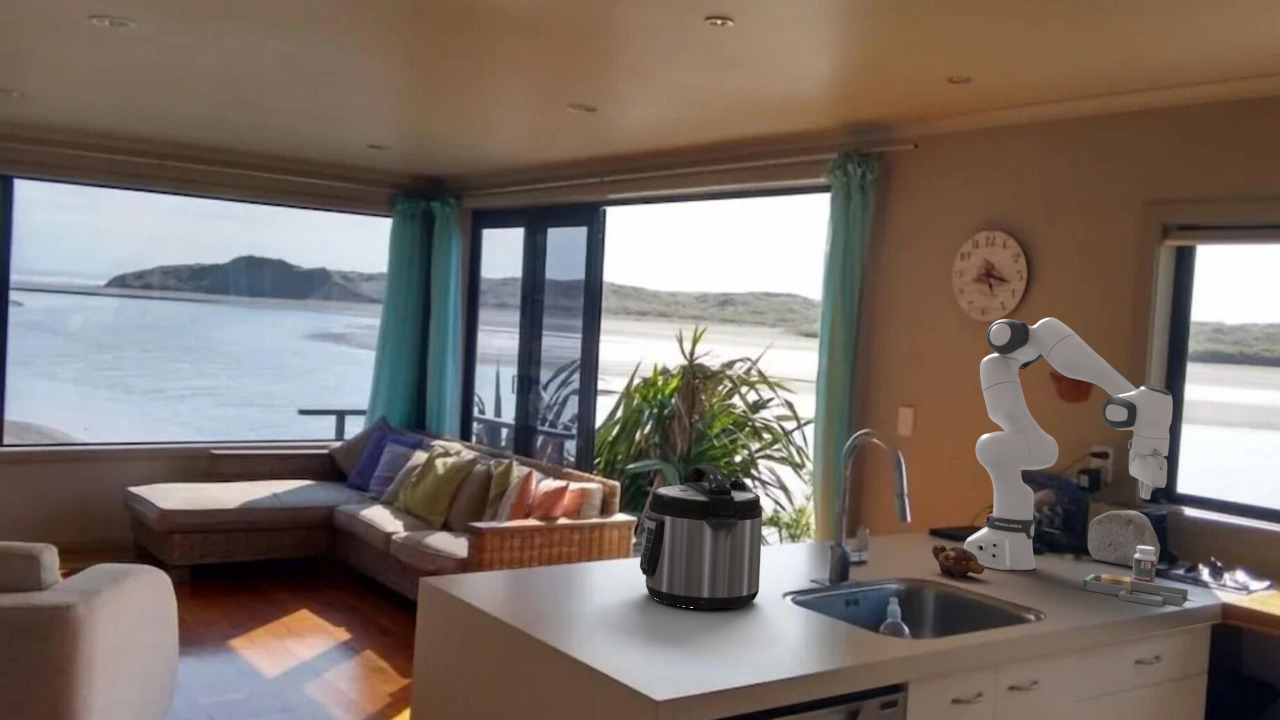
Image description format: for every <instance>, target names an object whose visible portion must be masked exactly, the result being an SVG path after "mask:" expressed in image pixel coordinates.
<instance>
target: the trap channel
mask: <svg viewBox="0 0 1280 720" xmlns="http://www.w3.org/2000/svg"><path fill="white" fill-rule="evenodd" d="M1102 575H1103V574H1097V573H1092V574H1090V575H1089V576H1087V577H1085V578H1084V579H1083V580H1082V590H1084V591H1088V592H1089V591H1090V592H1094V593H1096V592H1097V593H1101V594H1108V595H1113V596H1118V600H1119V599H1120V601H1126V602H1133V603H1136V604H1137V603H1138V604H1144V605H1150V606H1156V607H1161V606H1163V605H1164V604H1166V605H1173V606H1178V607H1181V606H1183V604H1184V603H1185V602H1187V600H1188V595H1189V594H1188V593H1189V589H1188V588H1183V587H1176V586H1171V585H1170V586H1169V585H1164V584H1159V583H1158V584H1157V583H1154V584H1152V583H1146V582H1140V581H1134V580H1132V579H1131V588H1130V591H1133V592H1139V593H1140V592H1141V593H1147V594H1153V595H1157V596H1158V595H1159V597H1158V598H1153V597H1152V598H1151V597H1145V596H1140V595H1139V596H1138V595H1133V594H1129V595H1128V594H1127V590H1128V587H1126V586H1120V585H1114V584H1108V583H1102V582H1101V577H1102Z"/></svg>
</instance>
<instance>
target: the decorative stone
mask: <svg viewBox="0 0 1280 720" xmlns="http://www.w3.org/2000/svg"><path fill="white" fill-rule="evenodd" d="M1088 526H1089V527H1088V535H1087V549H1088V551H1089V554H1090V556H1091V557H1092V558H1093V559H1094V560H1095V561H1100V562H1103V563H1104V562H1105V563H1111V564H1115V565H1120V566H1126V567H1130V568H1133V563H1134V555H1135V554H1137V550H1136V549H1137V546H1149V547H1153V548H1155V553H1154V556H1155V557H1156V565H1158V562H1159V558H1160V551H1161V545H1160V543H1159V539H1158V536H1157V534H1156V531H1155V530H1154V527H1153V525H1152V523H1151V521H1150V519H1149V518H1148V516H1146V515H1144V514H1143V513H1141V512H1139V511H1137V510H1128V509H1127V510H1110V511H1108V512H1105V513H1103V514H1100V515H1098V516H1096V517H1095V518H1093V519H1092V520H1091V521H1090V523H1089V525H1088Z"/></svg>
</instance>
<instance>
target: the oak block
mask: <svg viewBox="0 0 1280 720" xmlns="http://www.w3.org/2000/svg"><path fill="white" fill-rule="evenodd" d="M1101 575H1102V577H1101V582H1102V583H1108V584H1114V585H1120V586H1126V587H1128V590H1127V594H1128V595H1131V590H1130V588H1131V580H1132V577H1128V576H1122V575H1121V576H1120V575H1114V574H1106V573H1102V574H1101Z"/></svg>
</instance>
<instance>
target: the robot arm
mask: <svg viewBox="0 0 1280 720" xmlns="http://www.w3.org/2000/svg"><path fill="white" fill-rule="evenodd" d="M986 339H987V340H986V341H987V343H988V345H989V347H990V348H991V350H993V351H994V352H993V353H991V354H988V355H987V356H985V357H984V358H983V359H982V360H981V362H980V365H979V374H980V385H981V389H982V394H983V399H984V402H985V406H986V411H987V415H988V417H989V419H990V421H992V422H993V423H995V424H997V425H998V426H999V427H1000V428H1002V429H1003V431H993V432H989V433H984V434H982V435H981V436H980V437H979V438H978V440H977V441H976V444H975V450H974V451H975V455H976V459H977V461H978V462H979V464H980V465H981V466H983V467H984V468H985V469H986V471H987V473H988V475H989V477H990V480H991V482H992V487H993V506H992V507H993V508H992V509H993V510H992V513H990V514H988V515H987V516H986V517H985V518H984V522H985V526H984V527H983V528H981V529H980V530H978V531H976V532H975V533H973V534H972V535H970V536H969V537H967V538H966V540H965V542H964V545H963V548H964V549H966V550H968V551H970V552H972V553H973V554H974V555H975V556H976V557H977V559H978V563H980V564H982V565H984V567H985V568H989V569H990V568H991V569H995V570H1000V571H1011V570H1012V571H1029V570H1034V569H1036V568H1037V567H1036V564H1035V559H1034V551H1033V549H1034V548H1033V538H1034V535H1035V519H1034V506H1035V493H1034V491H1033V489H1032V488H1031V487H1030V486H1029V485H1028V484H1027V483H1024V481H1023V478H1022V472H1021V471H1022V470H1023V471H1025V470H1027V471H1029V470H1030V471H1035V470H1037V471H1038V470H1042V469H1047V468H1050V467H1053V466H1054V465H1055V463H1056V462H1057V460H1058V458H1059V454H1060V453H1059V451H1060V450H1059V445H1058V443H1057V441H1056V439H1055V438H1054V437H1053V436H1052V435H1049V434H1048V433H1047V432H1046V431H1045V430H1044V429H1042V428H1041V426H1040V425H1039V424H1038V423H1037V421H1036V420H1035V418H1034V417H1033V415H1032V414H1031V412H1030V411H1029V407H1028V405H1027V402H1026V400H1025V399H1026V398H1025V396H1024V392H1023V388H1022V384H1021V381H1020V377H1019V370H1025V369H1027V368H1028V367H1030V366H1031V365H1033V364H1036V363H1037V362H1039V361H1040V360H1041V359H1042V358H1044V359H1045V360H1046V361H1047V362H1048V364H1049V365H1051V366H1052V367H1053V369H1055V370H1056V371H1058V373H1060V374H1061V375H1063V376H1065V377H1067V378H1070V379H1075V380H1079V381H1084V382H1088V383H1091V384H1093V385H1097V386H1098V387H1100V388H1102V389H1103V390H1105V392H1107V393H1108V394H1109V395H1110V397H1108V398H1106V399H1105V401H1104V402H1103V404H1102V407H1101V417H1102V420H1103V422H1104V423H1105V425H1106V426H1107V427H1109V428H1111V429H1115V430H1117V431H1119V430H1120V431H1133V436H1132V439H1130V440H1129V441H1128V450H1129V449H1130V450H1129V455H1128V471H1129V472H1128V473H1129V475H1130V476H1132V477H1134V478H1136V479H1137V480H1139V481H1138V485H1139V491H1140V492H1139V497H1140V498H1142V499H1144V500H1150V499H1151V495H1152V491H1153V489H1154V488H1162V489H1163V488H1165V487H1166V485H1167V480H1168V477H1167V476H1168V460H1167V459H1166V458H1165V457H1167V456H1168V455H1169V448H1170V438H1171V436H1170V426H1171V425H1172V419H1173V407H1174V406H1173V405H1174V403H1173V397H1172V393H1171V392H1170V391H1169V390H1167V389H1165V388H1163V387H1159V386H1157V385H1156V386H1155V385H1150V384H1149V385H1147V384H1146V385H1145V384H1144V385H1141V386H1140V387H1139V388H1138V387H1137V386H1136V385H1135V384H1134V383H1133V382H1132V381H1130V380H1129V379H1128V378H1127V377H1126V376H1124V375H1123V374H1122V373H1121V372H1120V371H1119V370H1117V369H1116V368H1115V367H1114V366H1113V365H1112V364H1111V363H1109V362H1107V361H1106V360H1105V359H1104V358H1103V356H1100V355H1099V354H1098V353H1097V352H1096V351H1095V350H1094V349H1093V348H1091V346H1089V345H1088V344H1087V342H1085V341H1084V340H1083V339H1082V338H1081V337H1080V336H1079V335H1078V334H1077V333H1076V331H1074V330H1073V329H1072V328H1070V327H1069V326H1068V325H1066V324H1065V323H1063V322H1062V321H1061V320H1059V319H1058V318H1055V317H1045V318H1043V319H1040V320H1038V322H1037V323H1035V325H1032V326H1031V325H1028V324H1027V323H1026V322H1024V321H1020V320H1015V319H1009V318H1004V319H999V320H996V321H994V322H993V323H992V324H990V326H989V328H988V330H987V334H986Z"/></svg>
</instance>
